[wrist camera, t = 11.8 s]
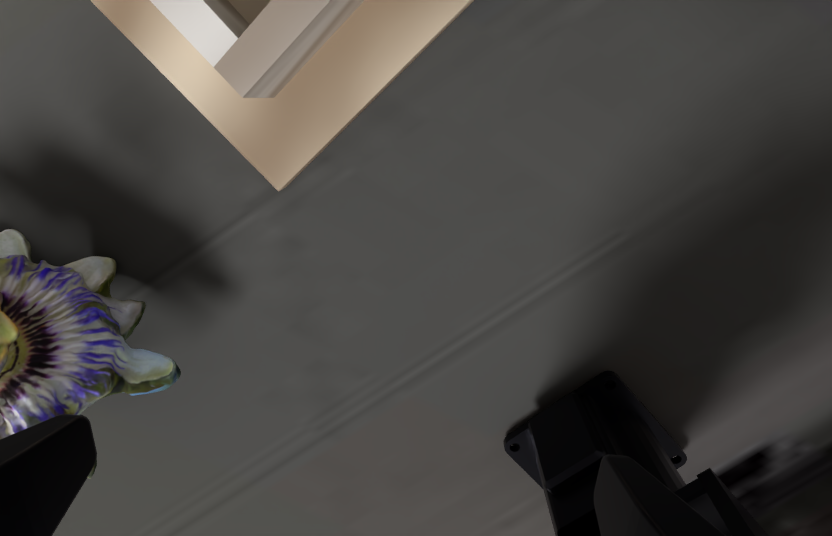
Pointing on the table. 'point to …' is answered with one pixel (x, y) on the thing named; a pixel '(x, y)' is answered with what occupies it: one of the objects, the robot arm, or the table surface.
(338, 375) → the table surface
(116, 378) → the passion flower
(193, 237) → the table surface
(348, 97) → the square well
